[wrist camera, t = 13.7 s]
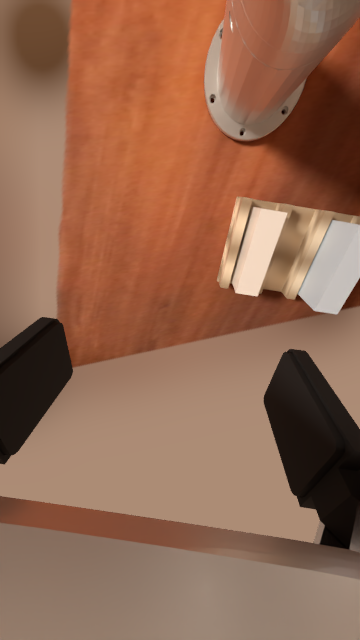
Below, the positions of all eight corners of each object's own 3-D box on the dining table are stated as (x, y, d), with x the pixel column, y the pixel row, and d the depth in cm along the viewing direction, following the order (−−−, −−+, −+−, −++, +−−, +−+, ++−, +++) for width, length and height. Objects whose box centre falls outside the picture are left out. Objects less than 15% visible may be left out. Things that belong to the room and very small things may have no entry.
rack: (236, 196, 34) (241, 196, 30) (360, 216, 34) (378, 219, 30) (216, 279, 41) (218, 287, 37) (318, 296, 41) (329, 305, 38)
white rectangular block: (323, 218, 33) (360, 224, 26) (345, 221, 33) (388, 229, 26) (292, 288, 40) (314, 310, 32) (310, 291, 40) (337, 314, 32)
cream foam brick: (250, 206, 33) (261, 208, 27) (271, 209, 33) (287, 212, 27) (230, 278, 40) (235, 292, 34) (248, 281, 40) (257, 296, 34)
